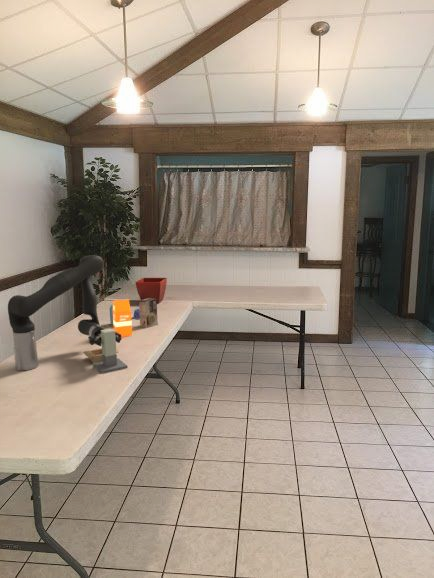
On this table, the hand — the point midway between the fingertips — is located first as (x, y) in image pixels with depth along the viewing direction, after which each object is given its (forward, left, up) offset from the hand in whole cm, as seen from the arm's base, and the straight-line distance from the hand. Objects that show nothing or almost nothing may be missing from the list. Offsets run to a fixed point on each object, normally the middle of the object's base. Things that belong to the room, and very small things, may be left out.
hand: (109, 342), depth 205 cm
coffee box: (+43, +58, -12) cm, 73 cm away
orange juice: (+23, +48, -12) cm, 54 cm away
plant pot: (+72, +119, -12) cm, 139 cm away
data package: (+30, +71, -12) cm, 78 cm away
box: (0, +2, -11) cm, 11 cm away
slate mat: (0, +2, -12) cm, 12 cm away
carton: (0, +15, -12) cm, 19 cm away
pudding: (+46, +81, -12) cm, 94 cm away
